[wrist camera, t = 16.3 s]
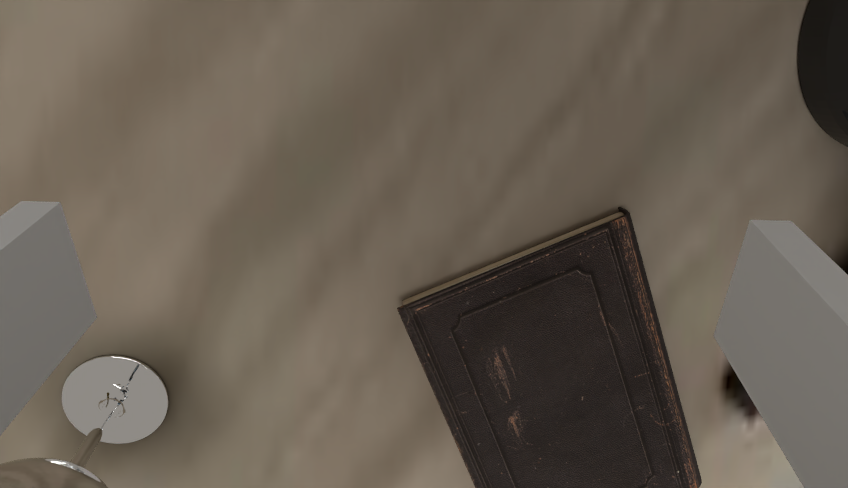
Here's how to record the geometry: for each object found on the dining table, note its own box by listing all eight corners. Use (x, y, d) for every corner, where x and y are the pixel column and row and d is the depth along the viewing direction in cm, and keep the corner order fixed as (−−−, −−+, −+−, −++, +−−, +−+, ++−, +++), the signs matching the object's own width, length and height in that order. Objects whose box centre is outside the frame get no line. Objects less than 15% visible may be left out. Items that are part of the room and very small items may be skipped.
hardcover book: (502, 543, 48) (510, 567, 46) (394, 295, 40) (397, 310, 38) (689, 465, 48) (706, 485, 46) (617, 204, 41) (633, 213, 38)
